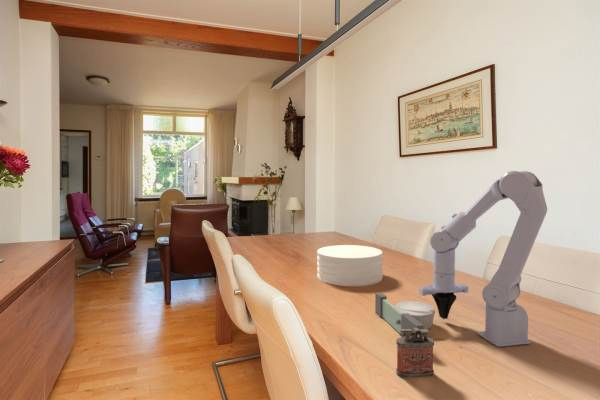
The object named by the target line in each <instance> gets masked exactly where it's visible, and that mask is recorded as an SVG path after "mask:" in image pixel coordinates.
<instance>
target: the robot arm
mask: <svg viewBox="0 0 600 400" xmlns="http://www.w3.org/2000/svg"><path fill="white" fill-rule="evenodd" d="M545 198H546V197H545V194H544V190H543V183H542V182H541V181H540V179H539V178H538V177H537V176H536V175H535V174H534V173H533V172H530V171H526V170H524V171H517V170H510V171H507V172H505V173H504V174H502V176H501V177H500V178H499V179H496V181H494V182H493V183H492V184H491V186H489V187H488V188H487V190H486V191H485V192H484V193H483V194H482V195H481V196H479V198H478V199H477V200H476V201H475V202H474V204H473V205H471V207H469V208H468V210H466V212H464V211H463V212H462V211H461V212H458V213H454V214H453V215H452V216H451V218H452V219H451V220H450V221H448V222H447V224H445V225H442V226H441V228H440V229H441V230H440V231H435V232H433V234H432V236H431V238H430V246H431V248H432V249H433V284H431V285H427V286H422V287H419V288H418V289H419V291H418V294H419V295H420V296H423V297H425V296H429V295H431V296H432V297H433V299H434V302H435V304H436V308H437V310H438V314H439V315H438V316H439V318H441V319H442V320H447V319H448V317H449V314H450V311H451V309H452V306H453V304H454V302H456V300H457V295H456V293H465V294H468V293H469V285H466V284H455V280H456V279H455V276H456V274H455V273H456V272H455V271H456V270H455V269H456V256H455V255H456V249H457V248H458V246H459V245H460V244H459V243H460V242H461V241H463V239H465V238H466V236H467V235H469V234H470V233H471V232H472V231H474V229H475V228H476V227H477V220H478V219H479V218H480V217H481V216H483V215H484V214H486V213H487V211H488V210H490V209H491V208H493V206H495V205H496V204H497V203H498V202H500V201H502V200H506V199H509V200H511V201H512V202H513V203H514V204H515V206H516V207H517V209H518V210H519V212H520V213H519V216H518V219H517V221H516V223H515V226H514V229H513V231H512V234H511V236H510V239H509V240H508V241H509V242H508V244H507V247H506V249H505V252H504V254H503V257H502V259H501V262H500V263H499V267H498V269H497V270H496V272H495V273H494V275H493V276H492V277H491V280H490V282H488V284H487V285H485V286H484V287H483V289H482V291H481V292H482V300H483V301H484V302H485V315H484V316H485V318H484V319H485V320H484V323H485V325H484V326H485V327H484V328H485V329H484V330H483V331H478V332H477V335H479V336H480V337H481V338H483V339H485V340H487V341H488V342H489V343H491V344H493V345H495V346H496V347H499V348H500V347H507V346H508V347H511V346H519V345H527V344H528V345H529V344H531V341H530V340H528V338H529V317H528V313H527V311H526V309H525V308H524V307H523V306H522V305H519V304H517V301H516V300H517V299H518V298H520V295H521V281H522V273H523V270H524V269H525V265H526V264H527V261H528V258H529V256H530V254H531V251H532V248H533V247H534V244H535V241H536V239H537V237H538V234H539V233H540V230H541V227H542V225H543V222H544V220H545V217H546V215H547V212H548V206H547V201H546V199H545Z"/></svg>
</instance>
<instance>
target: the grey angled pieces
mask: <svg viewBox="0 0 600 400" xmlns="http://www.w3.org/2000/svg"><path fill="white" fill-rule="evenodd" d="M374 297H375V302H374V303H375V307H374V308H375V309H374V310H375V315H376V316H378V317H379V318H381V319H384V318H383V317H382V299H386V300H387V299H388V298H387V297H388V296H387V295H386V294H384V293H383V292H375V296H374ZM387 301H388V300H387ZM415 327H417V328H418V329H419V330H420V329H424V325H423V324H421V323H420V322H419V321H418V320H416V319H415V318H414V317H412V316H411V315H410V314H409V313H405V314H401V329H411V330H413V328H415ZM423 337H424V336H423ZM400 338H404V337H401V336H400Z"/></svg>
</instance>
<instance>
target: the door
mask: <svg viewBox="0 0 600 400" xmlns="http://www.w3.org/2000/svg"><path fill="white" fill-rule="evenodd" d="M401 314H403V313H402V312H401V311H400V310H398V309H397V308H396V307H395V305H393V304H392V303H391V302H390V301H389V300H386V299H382V317H383V318H382V319H384V320H385V321H386V322H387V323H388V324H389V325H390V326H391V327H393V329H394V330H395V331H396V332H398V333H399V334H400V330H401Z"/></svg>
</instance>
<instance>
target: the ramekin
mask: <svg viewBox="0 0 600 400" xmlns="http://www.w3.org/2000/svg"><path fill="white" fill-rule="evenodd" d="M394 306H395V307H396V308H397V309H398V310H400V311H401V312H402V313H403V314H405V313H409V314H410V315H411V316H412V317H414V318H415V319H416V320H418V321H419V322H420V323H421V324H423V325H424V329H426V330H428V331H429V330H430V329H431V328H432V327H433V323H434V322H433V321H434V318H435V317H434V316H435V315H436V309H435V308H434V307H433V306H432V305H430V304H428V303H425V302H420V301H412V300H404V301H400V302H398V303H396V304H395V305H394Z"/></svg>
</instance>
